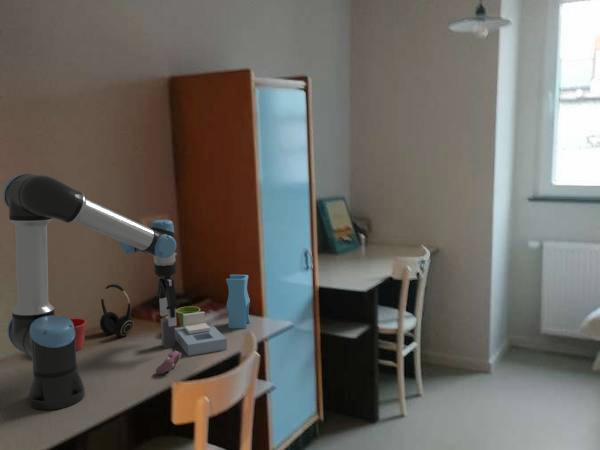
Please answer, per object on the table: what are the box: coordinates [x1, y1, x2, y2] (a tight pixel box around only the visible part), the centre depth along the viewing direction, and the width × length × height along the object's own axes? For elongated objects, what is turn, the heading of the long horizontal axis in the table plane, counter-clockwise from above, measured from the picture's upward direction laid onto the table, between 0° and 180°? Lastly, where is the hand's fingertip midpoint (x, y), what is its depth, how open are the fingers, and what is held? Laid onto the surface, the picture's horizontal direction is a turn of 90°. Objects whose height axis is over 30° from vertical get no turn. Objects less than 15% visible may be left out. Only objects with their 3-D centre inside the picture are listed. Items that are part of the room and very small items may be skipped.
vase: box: [225, 274, 251, 330], centre depth 233 cm, size 8×8×20 cm
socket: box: [174, 322, 228, 357], centre depth 213 cm, size 14×20×4 cm
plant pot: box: [176, 305, 201, 328], centre depth 227 cm, size 9×9×9 cm
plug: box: [160, 315, 176, 349], centre depth 211 cm, size 4×4×11 cm
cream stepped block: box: [183, 311, 210, 334], centre depth 216 cm, size 8×8×5 cm
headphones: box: [99, 283, 134, 338], centre depth 222 cm, size 9×15×20 cm, turn 62°
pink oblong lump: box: [155, 350, 183, 375], centre depth 189 cm, size 10×5×7 cm, turn 169°
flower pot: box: [69, 317, 87, 352], centre depth 209 cm, size 11×11×10 cm
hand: (168, 320), depth 210 cm, fingers open, 13 cm apart
